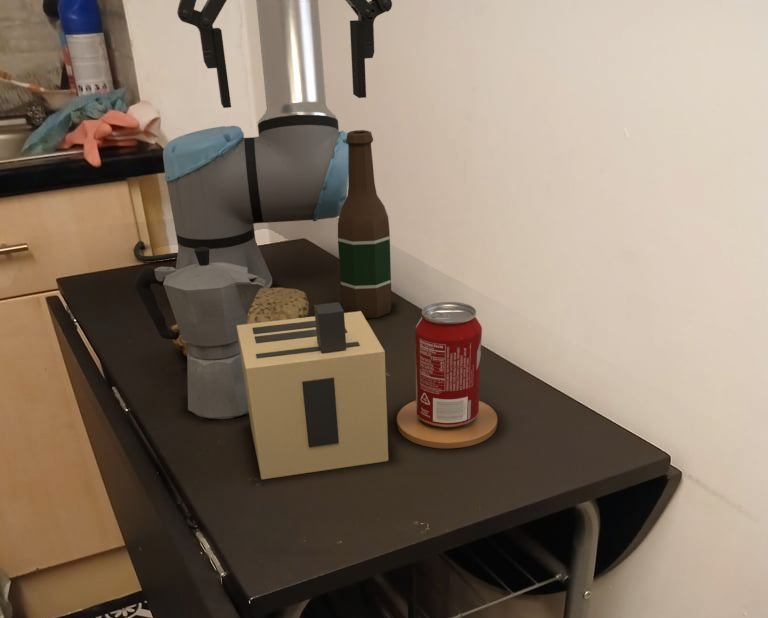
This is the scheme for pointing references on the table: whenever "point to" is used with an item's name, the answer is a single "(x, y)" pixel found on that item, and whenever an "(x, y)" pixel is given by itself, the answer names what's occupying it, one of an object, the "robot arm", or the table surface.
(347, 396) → the toaster
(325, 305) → the browning slider
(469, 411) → the soda can
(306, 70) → the robot arm
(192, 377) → the coffeepot
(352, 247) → the beer bottle
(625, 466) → the table surface
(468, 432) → the coaster
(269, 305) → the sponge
